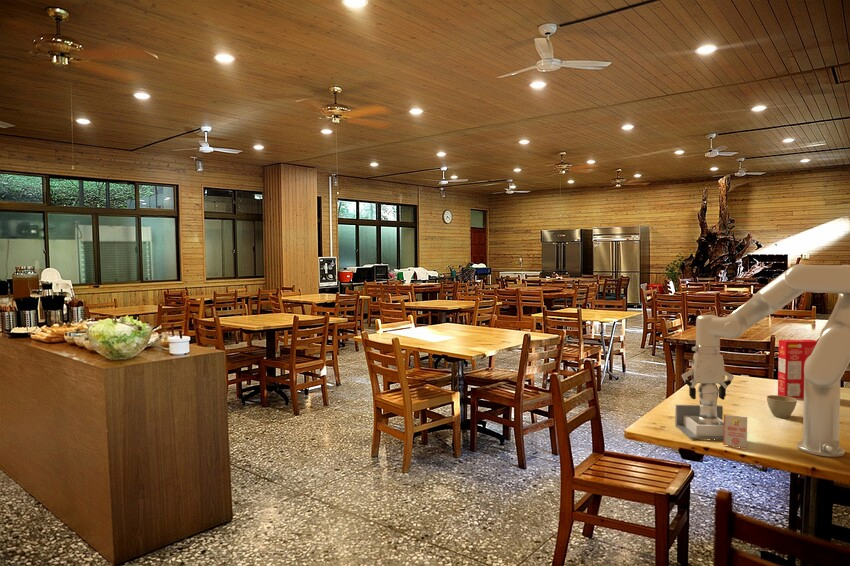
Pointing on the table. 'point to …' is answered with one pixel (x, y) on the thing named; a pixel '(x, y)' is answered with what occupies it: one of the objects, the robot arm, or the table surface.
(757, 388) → the table surface
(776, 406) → the flower pot
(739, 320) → the robot arm
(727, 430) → the beige printed carton
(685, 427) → the housing
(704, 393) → the plastic bottle
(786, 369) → the food packaging
